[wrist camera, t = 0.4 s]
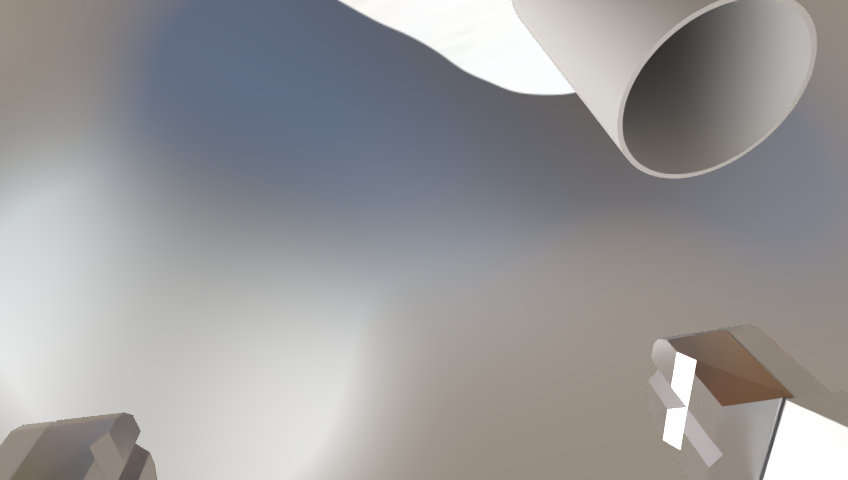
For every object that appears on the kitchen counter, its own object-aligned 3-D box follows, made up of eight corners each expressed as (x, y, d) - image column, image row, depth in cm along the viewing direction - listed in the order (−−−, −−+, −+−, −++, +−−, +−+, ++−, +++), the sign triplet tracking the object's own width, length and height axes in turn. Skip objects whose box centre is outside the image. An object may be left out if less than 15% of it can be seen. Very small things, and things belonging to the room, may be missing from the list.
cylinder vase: (661, -59, 52) (856, 51, 34) (577, 55, 59) (701, 200, 40) (564, -136, 46) (733, -53, 28) (482, 0, 53) (577, 139, 35)
